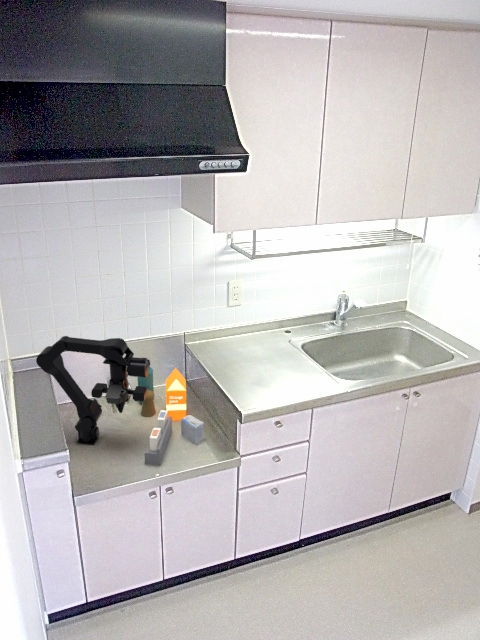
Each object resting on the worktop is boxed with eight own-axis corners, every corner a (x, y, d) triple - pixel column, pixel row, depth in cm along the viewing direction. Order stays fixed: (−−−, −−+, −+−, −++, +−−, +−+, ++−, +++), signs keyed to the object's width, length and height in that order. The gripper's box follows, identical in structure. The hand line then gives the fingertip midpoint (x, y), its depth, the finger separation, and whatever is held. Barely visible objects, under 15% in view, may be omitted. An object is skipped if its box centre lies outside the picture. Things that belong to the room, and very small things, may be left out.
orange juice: (166, 423, 214) (165, 378, 205) (166, 410, 222) (165, 367, 213) (186, 422, 215) (186, 378, 206) (185, 410, 223) (185, 366, 214)
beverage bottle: (149, 397, 230) (147, 354, 222) (157, 404, 226) (156, 361, 217) (135, 402, 226) (133, 359, 218) (143, 409, 222) (141, 366, 214)
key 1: (150, 461, 190) (149, 437, 186) (154, 450, 196) (153, 427, 192) (157, 462, 190) (156, 438, 186) (161, 451, 196) (160, 427, 192)
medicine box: (204, 442, 204) (204, 422, 200) (195, 447, 201) (195, 427, 197) (189, 433, 209) (189, 413, 205) (180, 438, 205) (180, 418, 202)
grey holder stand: (139, 466, 190) (138, 447, 187) (153, 432, 208) (152, 414, 205) (160, 468, 189) (159, 449, 186) (172, 434, 208) (171, 416, 204)
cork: (149, 409, 222) (148, 386, 217) (159, 415, 218) (158, 391, 214) (137, 416, 217) (136, 392, 213) (147, 421, 214) (146, 397, 210)
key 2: (157, 442, 200) (157, 418, 196) (161, 432, 206) (160, 409, 202) (164, 442, 200) (164, 419, 196) (168, 433, 206) (167, 410, 202)
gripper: (84, 384, 184) (87, 423, 190) (139, 388, 182) (140, 427, 189) (95, 367, 194) (98, 405, 200) (147, 371, 192) (148, 409, 199)
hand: (121, 412), depth 197 cm, fingers closed
